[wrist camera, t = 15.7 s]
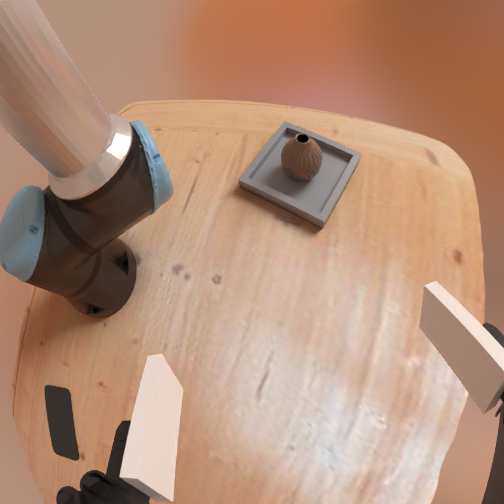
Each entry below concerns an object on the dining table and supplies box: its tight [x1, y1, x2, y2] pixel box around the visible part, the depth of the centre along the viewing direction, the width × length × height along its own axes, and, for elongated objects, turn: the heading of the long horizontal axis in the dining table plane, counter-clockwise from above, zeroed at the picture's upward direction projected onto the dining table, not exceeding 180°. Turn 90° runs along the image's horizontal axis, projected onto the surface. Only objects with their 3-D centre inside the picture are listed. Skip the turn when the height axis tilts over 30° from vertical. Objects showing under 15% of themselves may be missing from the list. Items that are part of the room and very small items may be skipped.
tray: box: [239, 121, 361, 228], centre depth 50 cm, size 16×16×2 cm
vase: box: [281, 133, 323, 181], centre depth 46 cm, size 7×7×9 cm
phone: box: [45, 385, 79, 460], centre depth 39 cm, size 7×1×15 cm
